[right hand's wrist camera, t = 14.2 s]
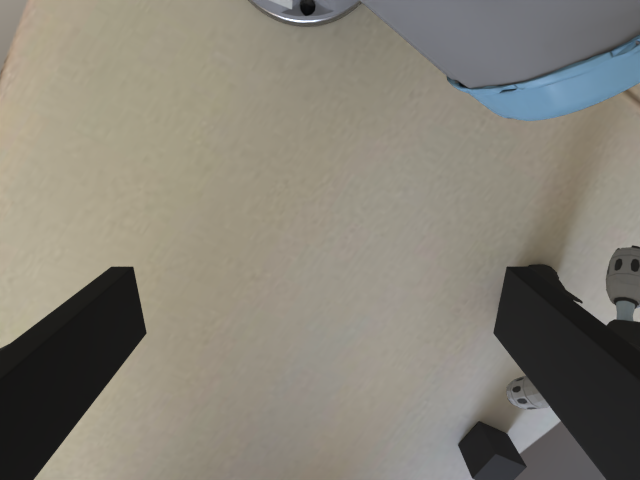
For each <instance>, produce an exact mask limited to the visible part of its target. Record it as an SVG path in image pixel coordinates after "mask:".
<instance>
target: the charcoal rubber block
mask: <svg viewBox="0 0 640 480" xmlns="http://www.w3.org/2000/svg"><path fill="white" fill-rule="evenodd" d="M458 446H459V448H460V451H461V453H462V455H463V458H464V460H465V462H466V465H467V467H468V469H469V472H470V474H471V477H472V478H473V479H475V480H514V479H515V478H516V477H517V476H518V475H519V474H520V473H521V472H522V471H523V470H524V469H525V468H526V467H527V466H526V465H525V463H524V461H523V460H522V458H521V456H520V455H519V453H518V451H517V449H516V448H515V446H514V444H513V443H512V441H511V439H510V438H509V436H508V434H506V433H504V432H502V431H500V430H497V429H495V428H493V427H491V426H488V425H486V424H484V423H482V422H478V423H477V424H476V425H475V426H474V428H473V429H472V430H471V431H470V432H469V433H468V434H467V435H466V437H465V438H464V439H463V440H462V441H461V442H460V443H459V444H458Z"/></svg>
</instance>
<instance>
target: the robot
mask: <svg viewBox="0 0 640 480" xmlns="http://www.w3.org/2000/svg"><path fill="white" fill-rule="evenodd" d="M528 267H530V268H531V269H532V270H533V271H535V272H536V273H537V274H539V275H540V276H541V277H543V278H544V279H545V280H547V281H548V282H549V283H551V284H552V285H553V286H555V287H556V288H557V289H558V290H560V291H561V292H562V293H564V294H565V295H566V296H568V297H569V298H570V299H572V300H575V301H577V302H580V303H583V302H582V301H581V300H580V299H578V298H577V297H575V296H574V295H572V294H571V293H569V292H568V291H567V290H565V288H564V286H563V285H562V283H561V282H560V281H559V277H558V275H557V272H555V270H553V269H552V268H551V267H550V266H547V265H529V266H528ZM606 288H607V289H606V290H607V293H608V296H609V298H610V300H611V302H612V303H613V304H615V305H616V308H617V320H613V321H611V322H609V323H608V324H607V327H609V328H610V329H611V330H612V331H614V332H615V333H616V334H618V335H619V336H620V337H622V338H623V339H624V340H626V341H627V342H628V343H633V344H635V345H637V346H639V347H640V322H635V321H633V312H634V309H635V308H639V307H640V247H638V246H633V245H632V247H631V248H621V249H619V248H618V249H617V250H616V251H615V253H614V254H613V256H612V258H611V260H610V262H609V266H608V270H607V275H606ZM506 393H507V396H508V400H509V401H510V402H511V403H512V404H513V405H515V406H517V407H519V408H523V409H539V408H546V407H549V405H548V403H547V402H546V401H545V399H544V398H543V397H542V395H541V394H540V393H539V392H538V390H537V389H536V388H535V386H534V385H533V384H532V383H531V381H530V380H529V379H528V377H527V376H524V377H520V378H518V379H515V380H513V381H512V382H511V383H510V384H509V385H508V386H507V390H506Z"/></svg>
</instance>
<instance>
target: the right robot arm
mask: <svg viewBox="0 0 640 480" xmlns="http://www.w3.org/2000/svg"><path fill="white" fill-rule="evenodd" d="M248 1H250V2H251V3H252V4H253V5H254V6H255V7H256V8H257V9H259V10H260V11H261V12H263V13H264V14H266V15H267V16H269V17H271V18H273V19H275V20H277V21H280V22H282V23H285V24H289V25H294V26H303V27H311V26H319V25H324V24H328V23H331V22H333V21H336V20H338V19H340V18H342V17H344V16H345V15H347V14H349V13H350V12H351V11H353V10H354V9H355V8H357V7H358V6H359V5H360V4H361V3H363V4H364V5H366V6H367V7H368V8H369V9H370V10H371V11H373V12H374V13H375V14H376V15H377V16H378V17H379V18H381V19H382V20H383V21H384V22H385V23H386V24H388V25H389V26H390V27H391V28H392V29H393V30H395V31H396V32H397V33H398V34H399V35H400V36H401V37H403V38H404V39H405V40H406V41H407V42H408V43H410V44H411V45H412V46H413V47H414V48H415V49H416V50H418V51H419V52H420V53H421V54H422V55H423V56H425V57H426V58H427V59H428V60H429V61H430V62H431V63H433V64H434V65H435V66H436V67H437V68H438V69H440V70H441V71H442V72H443V73H444V74H445V75H446V76H447V80H448V82H449V83H451V84H452V85H453V86H454V87H455V88H457V89H458V90H460V91H463V92H466V93H469V94H470V95H472V96H473V97H474V98H476V99H477V100H478V101H479V102H481V103H482V104H483V105H485V106H486V107H487V108H488V109H490V110H491V111H492V112H494V113H495V114H497V115H500V116H502V117H504V118H514V119H518V120H525V121H535V120H543V119H549V118H555V117H558V116H562V115H566V114H569V113H573V112H576V111H579V110H582V109H584V108H587V107H590V106H592V105H595V104H597V103H599V102H602V101H604V100H606V99H608V98H611V97H613V96H615V95H617V94H619V93H621V92H623V91H625V90H627V89H629V88H631V87H633V86H635V85H636V84H638V83H640V0H248ZM145 335H146V328H145V323H144V318H143V313H142V308H141V303H140V298H139V293H138V288H137V283H136V278H135V273H134V268H133V267H110V268H109V269H108V270H107V271H105V272H104V273H103V274H101V275H100V276H99V277H97V278H96V279H95V280H93V281H92V282H91V283H89V284H88V285H87V286H85V287H84V288H83V289H82V290H80V291H79V292H78V293H76V294H75V295H74V296H72V297H71V298H70V299H68V300H67V301H66V302H64V303H63V304H62V305H60V306H59V307H58V308H56V309H55V310H54V311H53V312H51V313H50V314H49V315H47V316H46V317H45V318H43V319H42V320H41V321H39V322H38V323H37V324H35V325H34V326H33V327H31V328H30V329H29V330H28V331H26V332H25V333H24V334H22V335H21V336H20V337H18V338H17V339H16V340H14V341H13V342H12V343H10V344H8V345H6V346H4V347H2V348H0V480H34V478H35V477H36V476H37V475H38V473H39V472H40V471H41V469H42V468H43V467H44V465H45V464H46V463H47V462H48V460H49V459H50V458H51V456H52V455H53V454H54V452H55V451H56V450H57V449H58V447H59V446H60V445H61V443H62V442H63V441H64V440H65V438H66V437H67V436H68V434H69V433H70V432H71V430H72V429H73V428H74V427H75V425H76V424H77V423H78V421H79V420H80V419H81V417H82V416H83V415H84V414H85V412H86V411H87V410H88V408H89V407H90V406H91V405H92V403H93V402H94V401H95V399H96V398H97V397H98V395H99V394H100V393H101V392H102V390H103V389H104V388H105V386H106V385H107V384H108V383H109V381H110V380H111V379H112V377H113V376H114V375H115V373H116V372H117V371H118V370H119V368H120V367H121V366H122V364H123V363H124V362H125V360H126V359H127V358H128V357H129V355H130V354H131V353H132V351H133V350H134V349H135V348H136V346H137V345H138V344H139V342H140V341H141V340H142V338H143V337H144V336H145ZM494 335H495V336H496V337H497V338H498V340H499V341H500V342H501V344H502V345H503V346H504V348H505V349H506V350H507V351H508V353H509V354H510V355H511V357H512V358H513V359H514V360H515V362H516V363H517V364H518V366H519V367H520V368H521V370H522V371H523V372H524V373H525V375H526V376H527V377H528V379H529V380H530V381H531V383H532V384H533V385H534V386H535V388H536V389H537V390H538V392H539V393H540V394H541V395H542V397H543V398H544V399H545V401H546V402H547V403H548V405H549V406H550V407H551V408H552V410H553V411H554V412H555V414H556V415H557V416H558V418H559V419H560V420H561V421H562V423H563V424H564V425H565V426H566V428H567V429H568V430H569V432H570V433H571V434H572V436H573V437H574V438H575V439H576V441H577V442H578V443H579V445H580V446H581V447H582V449H583V450H584V451H585V452H586V454H587V455H588V456H589V458H590V459H591V460H592V462H593V463H594V464H595V465H596V467H597V468H598V469H599V471H600V472H601V473H602V475H603V476H604V477H605V478H606V480H640V347H639V346H637V345H635V344H633V343H628V342H627V341H626V340H624V339H623V338H622V337H620V336H619V335H618V334H616V333H615V332H614V331H612V330H611V329H610V328H609V327H607V326H606V325H605V324H603V323H602V322H601V321H599V320H598V319H597V318H595V317H594V316H593V315H591V314H590V313H589V312H587V311H586V310H585V309H584V308H582V307H581V306H580V305H578V304H577V303H576V302H574V301H573V300H572V299H570V298H569V297H568V296H566V295H565V294H564V293H562V292H561V291H560V290H558V289H557V288H556V287H555V286H553V285H552V284H551V283H549V282H548V281H547V280H545V279H544V278H543V277H541V276H540V275H539V274H537V273H536V272H535V271H533V270H532V269H531V268H530V267H507V268H506V273H505V278H504V283H503V288H502V293H501V298H500V303H499V308H498V313H497V318H496V323H495V328H494Z"/></svg>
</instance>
